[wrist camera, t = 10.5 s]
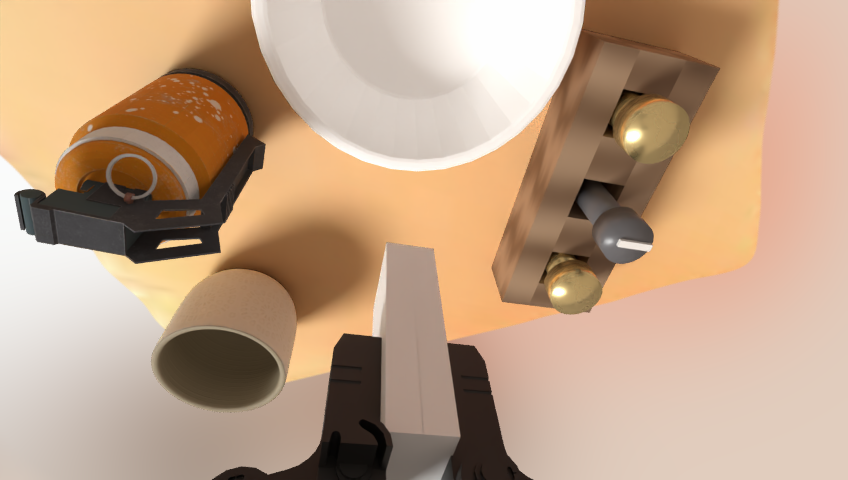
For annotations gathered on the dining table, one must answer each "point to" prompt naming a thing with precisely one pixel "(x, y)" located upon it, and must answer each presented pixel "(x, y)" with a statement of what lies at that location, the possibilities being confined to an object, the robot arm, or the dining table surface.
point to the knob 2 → (648, 126)
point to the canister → (151, 172)
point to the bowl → (418, 71)
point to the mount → (588, 158)
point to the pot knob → (614, 224)
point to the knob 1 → (571, 284)
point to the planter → (228, 343)
